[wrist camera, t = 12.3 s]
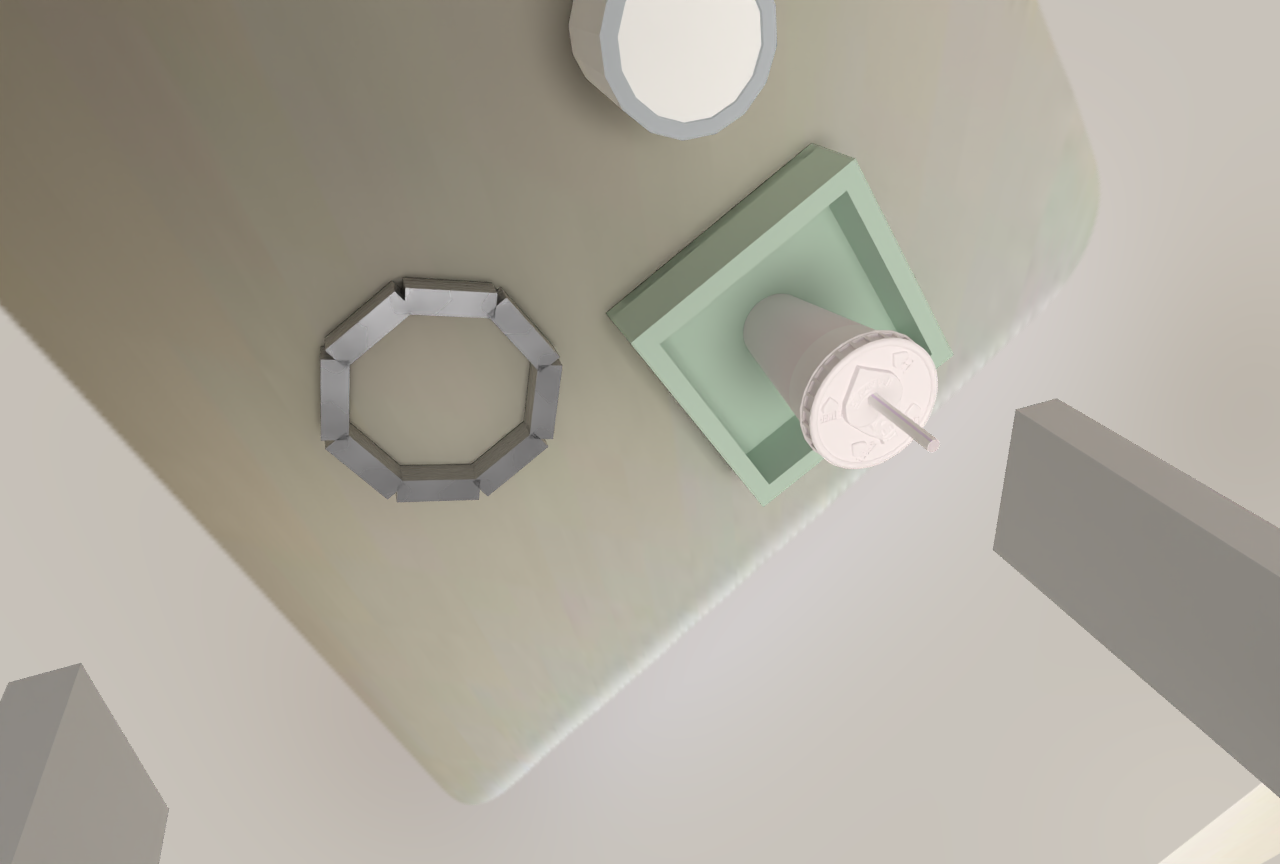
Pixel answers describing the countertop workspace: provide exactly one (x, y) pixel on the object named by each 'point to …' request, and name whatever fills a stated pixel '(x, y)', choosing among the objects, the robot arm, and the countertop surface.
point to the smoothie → (844, 380)
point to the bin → (757, 268)
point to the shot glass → (676, 59)
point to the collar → (437, 479)
